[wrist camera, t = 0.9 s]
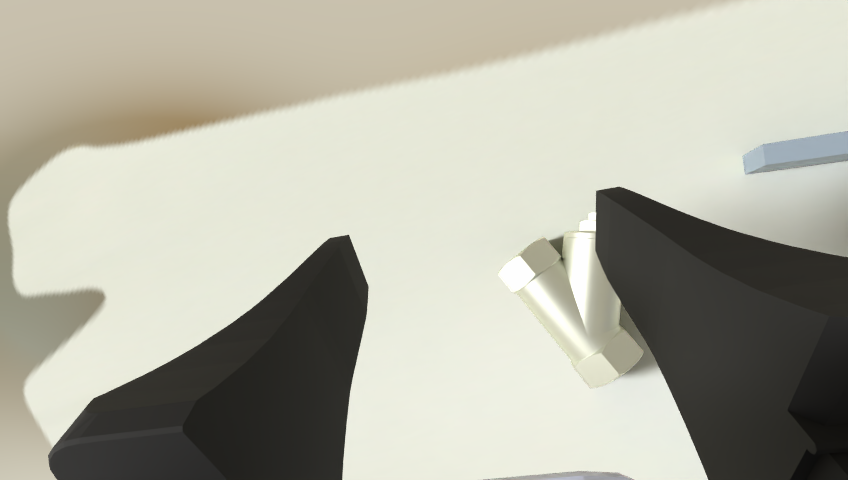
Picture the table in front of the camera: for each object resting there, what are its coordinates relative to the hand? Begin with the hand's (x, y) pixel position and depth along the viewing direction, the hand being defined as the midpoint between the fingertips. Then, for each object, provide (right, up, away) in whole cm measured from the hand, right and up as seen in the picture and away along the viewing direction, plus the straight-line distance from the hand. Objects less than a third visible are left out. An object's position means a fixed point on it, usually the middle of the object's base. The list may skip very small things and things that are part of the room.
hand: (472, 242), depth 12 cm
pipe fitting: (+9, -3, +13) cm, 16 cm away
